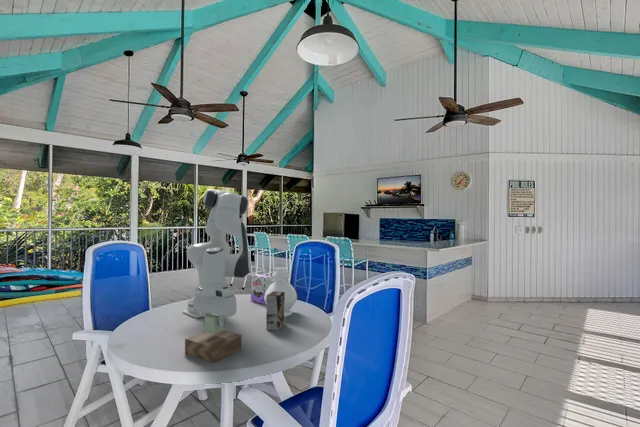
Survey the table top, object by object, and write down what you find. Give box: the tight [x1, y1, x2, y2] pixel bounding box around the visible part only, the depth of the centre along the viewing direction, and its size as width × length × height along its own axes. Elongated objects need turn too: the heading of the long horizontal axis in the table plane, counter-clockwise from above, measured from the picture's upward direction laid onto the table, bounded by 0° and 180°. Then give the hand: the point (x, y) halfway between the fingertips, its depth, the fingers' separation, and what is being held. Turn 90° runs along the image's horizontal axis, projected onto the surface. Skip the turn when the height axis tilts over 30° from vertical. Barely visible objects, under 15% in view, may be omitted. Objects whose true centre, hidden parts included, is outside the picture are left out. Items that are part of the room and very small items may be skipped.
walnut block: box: [184, 329, 242, 364], centre depth 124 cm, size 16×14×6 cm
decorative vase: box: [264, 266, 298, 318], centre depth 172 cm, size 18×18×25 cm
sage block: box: [204, 314, 225, 334], centre depth 124 cm, size 5×5×6 cm
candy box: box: [250, 273, 273, 305], centre depth 196 cm, size 14×6×16 cm, turn 50°
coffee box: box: [265, 292, 285, 331], centre depth 151 cm, size 9×6×16 cm
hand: (214, 324), depth 124 cm, fingers closed on sage block, 5 cm apart
